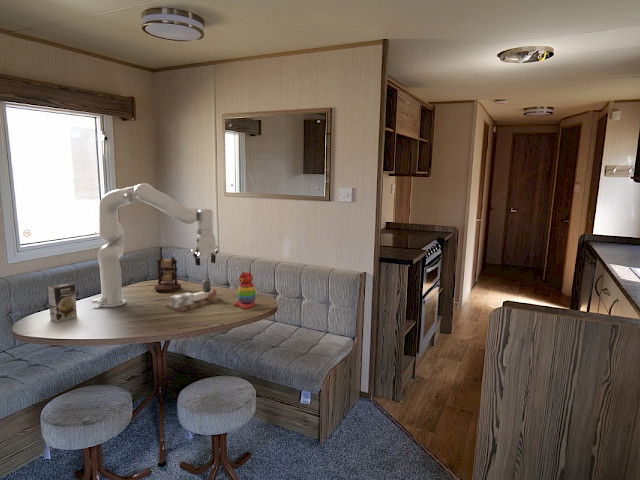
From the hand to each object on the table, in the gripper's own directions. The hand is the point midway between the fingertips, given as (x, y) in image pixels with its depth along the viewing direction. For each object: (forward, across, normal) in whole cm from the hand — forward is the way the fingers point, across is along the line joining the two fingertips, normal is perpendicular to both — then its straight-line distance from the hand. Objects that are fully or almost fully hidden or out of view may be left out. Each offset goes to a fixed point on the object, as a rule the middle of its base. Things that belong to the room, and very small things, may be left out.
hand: (205, 263), depth 227 cm
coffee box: (+22, -62, +24) cm, 69 cm away
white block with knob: (+18, -4, 0) cm, 18 cm away
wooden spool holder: (+21, -3, +34) cm, 40 cm away
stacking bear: (+20, +9, -22) cm, 32 cm away
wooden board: (+20, -7, 0) cm, 22 cm away
